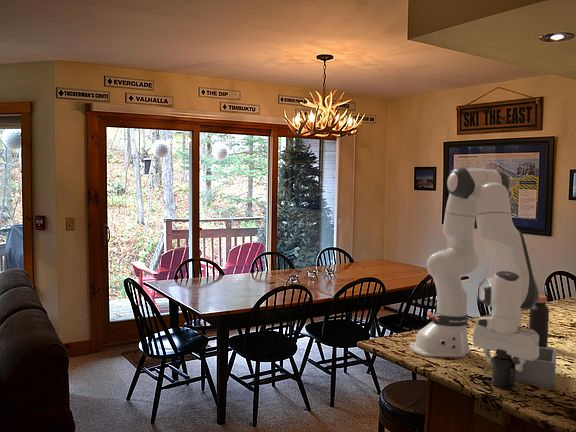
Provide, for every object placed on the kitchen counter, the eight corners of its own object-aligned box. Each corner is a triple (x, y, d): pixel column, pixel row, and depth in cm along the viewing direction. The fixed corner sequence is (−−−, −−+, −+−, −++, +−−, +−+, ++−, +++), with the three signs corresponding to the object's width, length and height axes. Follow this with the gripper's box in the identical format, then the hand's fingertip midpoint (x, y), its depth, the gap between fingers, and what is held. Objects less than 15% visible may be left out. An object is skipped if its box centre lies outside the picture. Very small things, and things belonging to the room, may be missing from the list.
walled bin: (553, 388, 162) (554, 363, 161) (512, 380, 167) (513, 356, 167) (555, 372, 176) (556, 349, 175) (517, 365, 181) (518, 343, 181)
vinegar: (549, 349, 200) (551, 298, 199) (530, 347, 202) (532, 297, 201) (544, 343, 207) (546, 294, 206) (526, 342, 208) (528, 293, 207)
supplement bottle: (508, 381, 167) (510, 345, 166) (518, 390, 160) (520, 352, 159) (487, 381, 167) (489, 345, 166) (497, 390, 160) (498, 352, 159)
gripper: (543, 329, 156) (542, 373, 157) (480, 315, 172) (479, 356, 173) (534, 333, 152) (532, 378, 153) (471, 318, 168) (469, 360, 168)
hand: (504, 366), depth 163 cm, fingers open, 8 cm apart
